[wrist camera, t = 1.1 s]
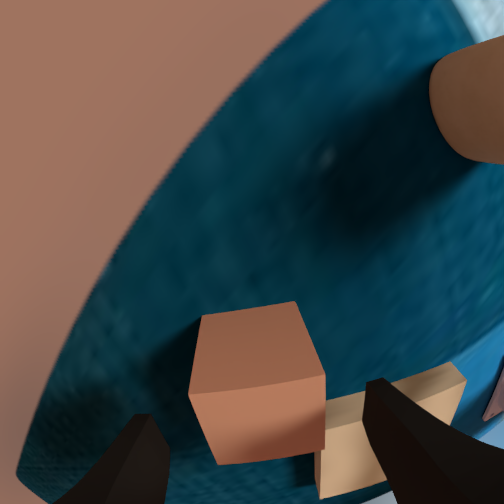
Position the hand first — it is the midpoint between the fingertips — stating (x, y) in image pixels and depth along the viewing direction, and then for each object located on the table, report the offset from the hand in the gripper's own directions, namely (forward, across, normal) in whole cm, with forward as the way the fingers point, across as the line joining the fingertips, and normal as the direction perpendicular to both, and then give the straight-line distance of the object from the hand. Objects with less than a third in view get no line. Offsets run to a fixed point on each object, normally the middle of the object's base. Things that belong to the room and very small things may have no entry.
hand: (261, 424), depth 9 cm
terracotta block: (+5, 0, 0) cm, 5 cm away
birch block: (+5, -7, +9) cm, 13 cm away
